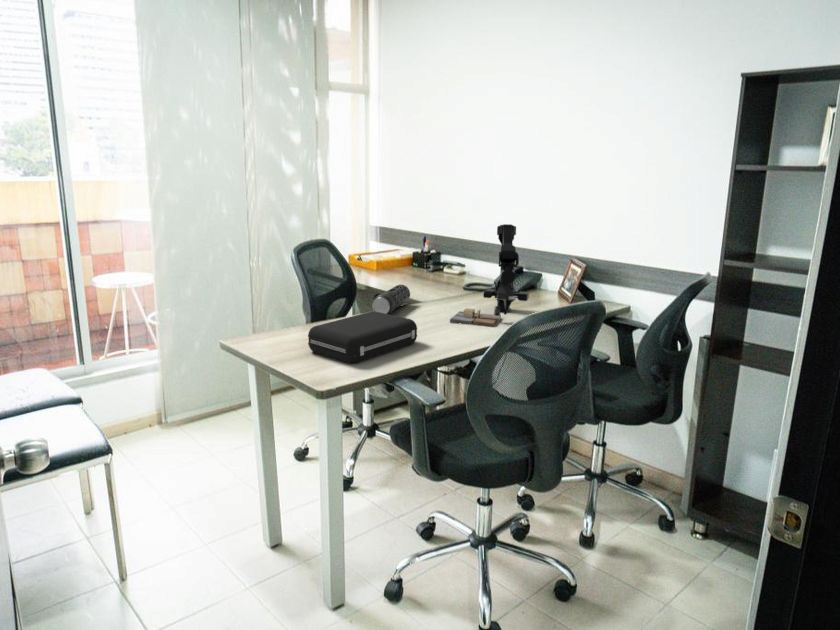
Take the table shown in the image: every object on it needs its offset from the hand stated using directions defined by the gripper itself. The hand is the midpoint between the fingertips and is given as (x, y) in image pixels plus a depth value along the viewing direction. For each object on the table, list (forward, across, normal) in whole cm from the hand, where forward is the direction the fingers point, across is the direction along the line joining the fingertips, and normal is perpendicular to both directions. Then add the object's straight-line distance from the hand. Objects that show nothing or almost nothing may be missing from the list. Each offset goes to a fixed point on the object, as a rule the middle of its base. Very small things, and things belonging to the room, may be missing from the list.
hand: (505, 314), depth 268 cm
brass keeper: (+3, -15, 0) cm, 15 cm away
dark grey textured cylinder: (+4, -54, +2) cm, 54 cm away
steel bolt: (+2, -7, 0) cm, 7 cm away
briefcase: (+4, -46, -52) cm, 69 cm away
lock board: (+4, -14, 0) cm, 14 cm away
